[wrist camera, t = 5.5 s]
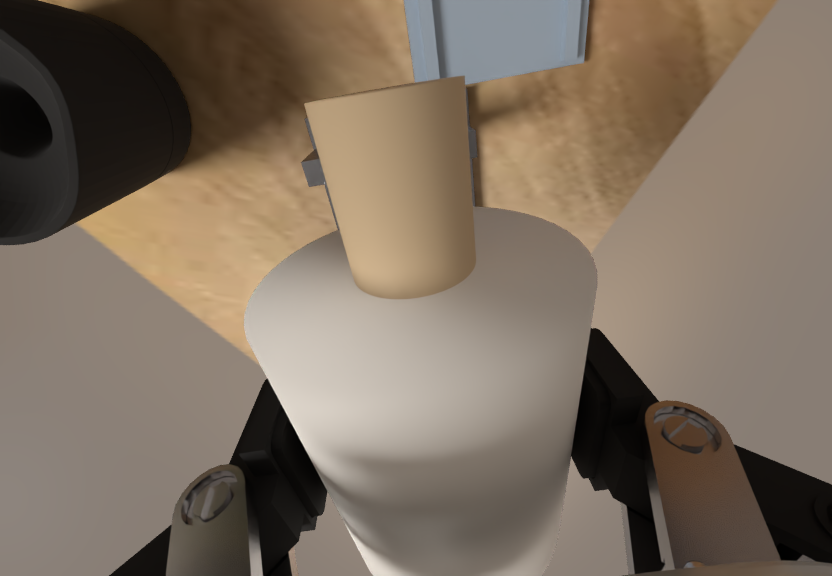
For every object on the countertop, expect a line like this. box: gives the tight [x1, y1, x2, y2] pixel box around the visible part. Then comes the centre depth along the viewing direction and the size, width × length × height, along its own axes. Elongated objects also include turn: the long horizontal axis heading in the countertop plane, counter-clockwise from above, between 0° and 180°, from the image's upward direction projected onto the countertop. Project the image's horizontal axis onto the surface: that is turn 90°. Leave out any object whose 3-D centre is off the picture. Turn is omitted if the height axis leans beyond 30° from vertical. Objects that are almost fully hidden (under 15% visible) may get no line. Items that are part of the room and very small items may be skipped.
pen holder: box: [0, 0, 191, 245], centre depth 17 cm, size 9×9×10 cm
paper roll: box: [244, 76, 597, 576], centre depth 9 cm, size 14×6×6 cm, turn 8°
